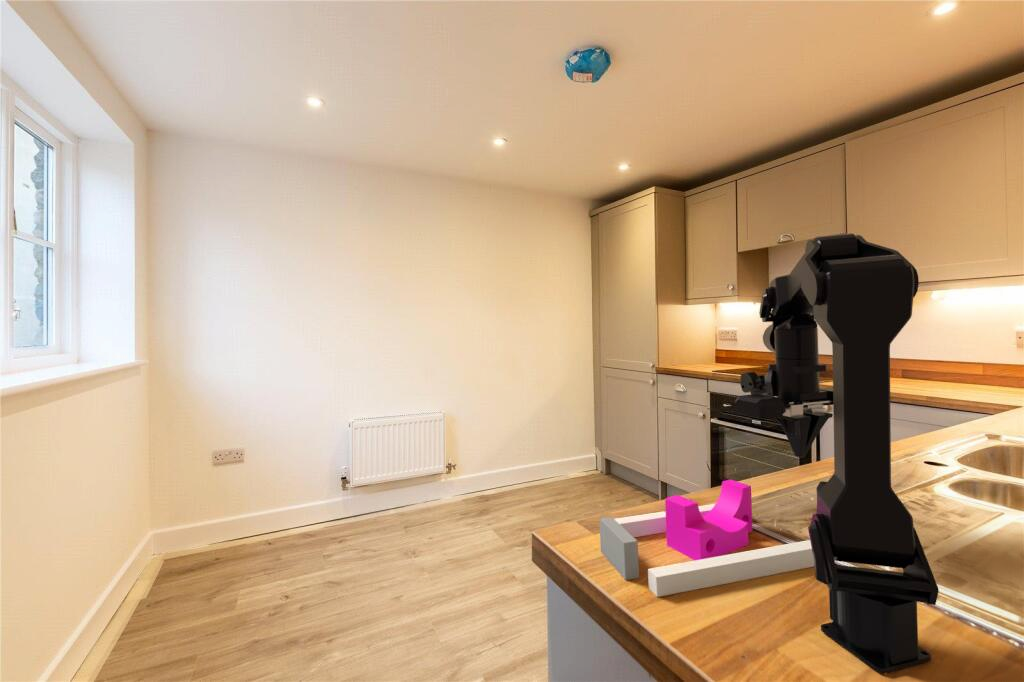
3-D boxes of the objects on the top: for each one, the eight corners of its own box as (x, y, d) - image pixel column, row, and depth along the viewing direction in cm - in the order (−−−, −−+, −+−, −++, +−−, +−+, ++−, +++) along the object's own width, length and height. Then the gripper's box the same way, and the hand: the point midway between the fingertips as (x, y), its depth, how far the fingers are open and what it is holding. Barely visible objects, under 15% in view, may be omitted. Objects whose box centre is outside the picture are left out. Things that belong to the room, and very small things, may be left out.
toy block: (701, 565, 62) (699, 512, 62) (667, 546, 67) (665, 498, 67) (767, 538, 69) (766, 490, 68) (731, 523, 74) (730, 479, 74)
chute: (825, 564, 60) (824, 528, 60) (642, 599, 54) (640, 560, 54) (736, 514, 77) (735, 486, 77) (589, 537, 71) (587, 507, 71)
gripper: (801, 352, 79) (804, 439, 79) (710, 359, 75) (714, 449, 75) (863, 355, 68) (866, 455, 68) (760, 362, 64) (764, 469, 64)
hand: (799, 456), depth 69 cm, fingers closed
